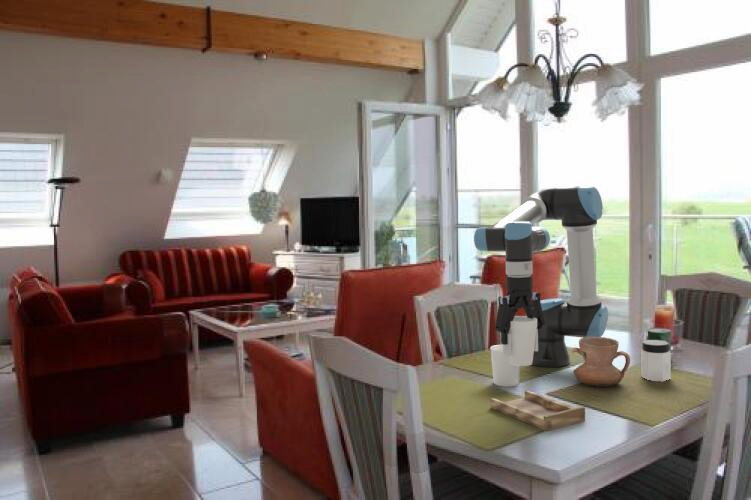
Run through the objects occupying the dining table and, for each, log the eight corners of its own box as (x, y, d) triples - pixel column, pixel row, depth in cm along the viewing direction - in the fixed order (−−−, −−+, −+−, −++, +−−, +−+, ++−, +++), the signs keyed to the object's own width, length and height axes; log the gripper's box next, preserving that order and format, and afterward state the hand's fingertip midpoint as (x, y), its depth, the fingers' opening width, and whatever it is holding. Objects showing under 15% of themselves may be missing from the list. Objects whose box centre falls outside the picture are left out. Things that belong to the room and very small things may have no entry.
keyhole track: (490, 407, 189) (490, 395, 189) (527, 399, 196) (527, 387, 195) (546, 431, 169) (546, 417, 168) (585, 420, 175) (585, 407, 175)
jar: (659, 383, 207) (659, 346, 206) (636, 378, 214) (636, 342, 213) (675, 378, 212) (675, 342, 211) (652, 373, 218) (652, 338, 217)
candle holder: (523, 379, 216) (522, 344, 215) (519, 388, 207) (518, 351, 206) (493, 378, 220) (492, 343, 219) (489, 386, 210) (488, 350, 209)
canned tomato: (645, 360, 235) (645, 331, 234) (649, 356, 241) (649, 327, 240) (669, 363, 230) (669, 332, 229) (672, 358, 237) (672, 328, 236)
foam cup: (500, 360, 191) (499, 316, 190) (531, 358, 191) (530, 315, 190) (510, 368, 181) (509, 322, 180) (542, 366, 182) (541, 321, 181)
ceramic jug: (568, 387, 206) (568, 344, 205) (573, 375, 219) (573, 334, 218) (629, 393, 199) (629, 348, 197) (630, 380, 212) (631, 337, 211)
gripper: (497, 280, 176) (499, 361, 178) (557, 273, 186) (558, 349, 188) (480, 277, 183) (482, 355, 184) (539, 271, 193) (540, 345, 195)
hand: (520, 352), depth 186 cm, fingers closed on foam cup, 9 cm apart
